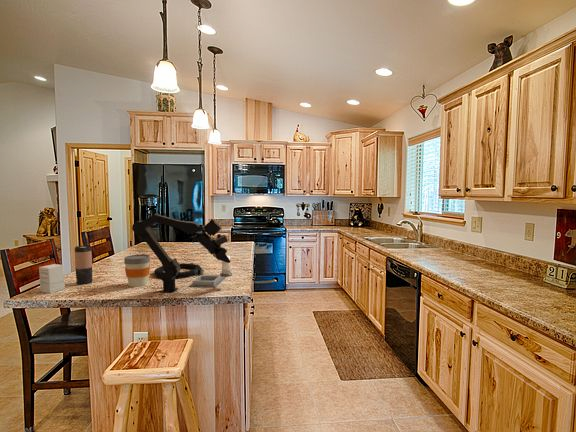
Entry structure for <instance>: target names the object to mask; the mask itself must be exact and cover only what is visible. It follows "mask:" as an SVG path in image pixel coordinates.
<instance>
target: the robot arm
mask: <svg viewBox="0 0 576 432" xmlns="http://www.w3.org/2000/svg"><path fill="white" fill-rule="evenodd" d="M155 224H159V225H163V226H168V227H171V228H174V229H178V230H180V231H183V232H185V233H186V234H189V235H192V237H191V240H192V243H195V242H198V243H199V244H200V245H202V246H203V248H204V249H206V250H207V251H208V253H209V254H210V255H212V256H213V257H214V258H215V259H216V260H217V261H221V262H222V261H224V262H227V263H230V264H231V259H230V260H229V258H228V257H227V254H226V253H228V249H226V248H225V247H222V245H224V244H225V243H228V242H229V239H228V238H227V236H226V234H220V233H219V234H217V233H218V232H219V231H221V230H222V229H223V228H222V226H221V225H220V223H219V222H217V221H216V220H214V219H213V218H211V219H210V220H209V221H208V222H207V223H206V224H199V222H196V221H189V220H188V221H187V220H179V219H176V218H173V217H168V216H165V215H161V214H159V213H155V214H152V215H151V216H149V217H147V218H145V219H143V220H139V221H138V220H137V221H135V222H134V223H133V224H132V227H131V229H132V231H133V233H134V234H136V235H137V237H139V238H141V239H142V240H144V242H145V243H146V244H147V246H148V247H149V249H151V250H152V252H153V254H154V256H156V258H157V259H158V260H159V261H160V263H161V266H163V269H164V271H163V272H165V273H164V274H163V275H162V276H161V278H160V280H161V282H162V287H163V289H162V290H160V293H167V294H168V293H169V294H170V293H171V294H172V293H174V292H176V291H178V290H179V288H178V287H176V278H175V277H176V275H177V274H178V273H179V272H181V269H180V264H181V263H180V262H178V260H177V258H175V257H174V258H171V257H170V256H169V255H168V253H167V252H166V250H165V249H164V247H163V246H162V245H161V244H160V242H159V241H158V240H157V239H156V237H155V236H154V234H153V232H152V231H153V230H152V227H151V226H153V225H155ZM195 234H196V235H195ZM216 234H217V235H216ZM215 235H216V238H212V237H211V236H213V237H214V236H215Z"/></svg>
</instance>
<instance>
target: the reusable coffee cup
mask: <svg viewBox="0 0 576 432" xmlns="http://www.w3.org/2000/svg"><path fill="white" fill-rule="evenodd" d="M150 256H151V255H149V254H132V255H131V254H130V255H126V256H125V257H124V259H123V260H124V261H123V264H124V265H125V268H124V271H125V276H126V278H127V281H128V282H127V283H128V286H129V287H133V288H137V287H143V286H146V285H147V284H148V280H149V275H150V269H151V266H150V262H151V257H150Z"/></svg>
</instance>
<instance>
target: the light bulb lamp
mask: <svg viewBox="0 0 576 432" xmlns="http://www.w3.org/2000/svg"><path fill="white" fill-rule="evenodd" d="M226 255H227V254H226ZM227 257H228V258H229V260H230V261H231V256H230V255H227ZM219 275H220V276H222V277H226V278H228V277H231V276H233V273H232V271H231V262H230V263H227V262H224V261H221V272H220V273H219Z"/></svg>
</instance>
